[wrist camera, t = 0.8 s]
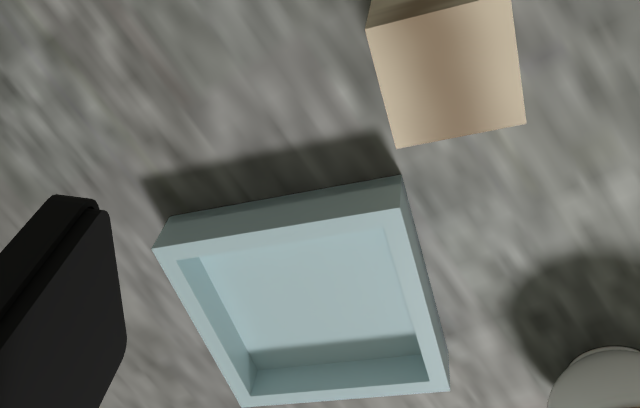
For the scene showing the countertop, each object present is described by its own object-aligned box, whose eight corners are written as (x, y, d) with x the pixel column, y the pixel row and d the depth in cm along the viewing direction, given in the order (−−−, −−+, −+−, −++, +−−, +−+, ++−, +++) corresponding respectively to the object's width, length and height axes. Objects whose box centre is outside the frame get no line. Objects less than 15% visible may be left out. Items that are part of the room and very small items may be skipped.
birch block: (494, -43, 29) (509, -8, 24) (510, 72, 32) (526, 123, 27) (373, -10, 30) (364, 29, 26) (399, 96, 34) (396, 148, 29)
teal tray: (401, 174, 36) (399, 207, 33) (448, 352, 45) (450, 391, 42) (170, 216, 41) (151, 248, 38) (251, 371, 49) (241, 407, 46)
